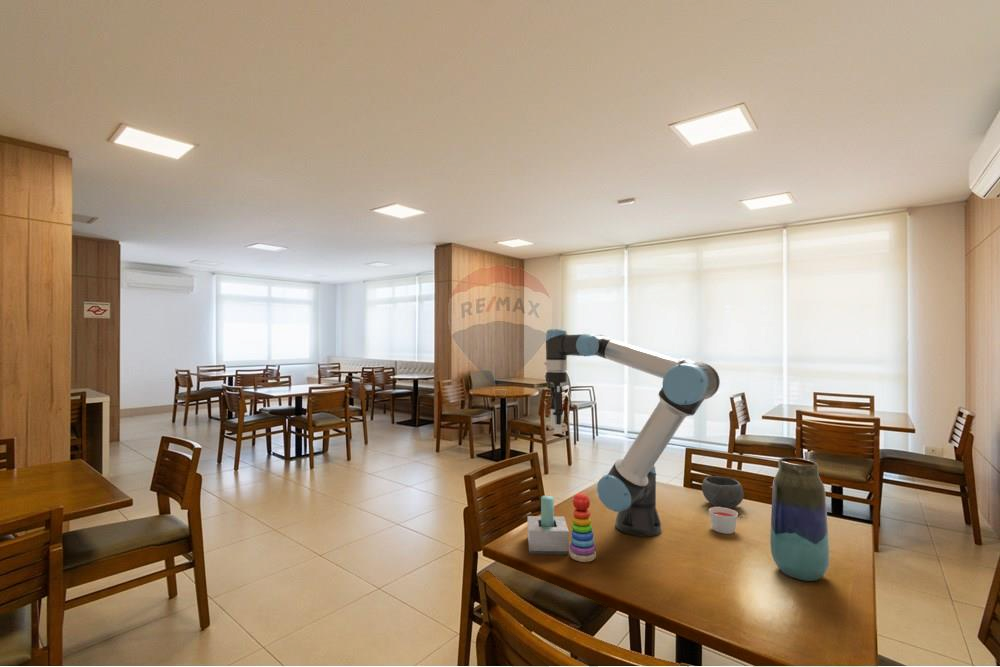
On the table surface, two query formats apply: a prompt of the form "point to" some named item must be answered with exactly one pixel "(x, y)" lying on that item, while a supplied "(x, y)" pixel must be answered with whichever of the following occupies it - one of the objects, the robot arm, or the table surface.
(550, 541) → the socket block
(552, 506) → the peg
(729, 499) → the bowl
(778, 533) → the vase
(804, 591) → the table surface
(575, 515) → the stacking toy
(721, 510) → the candle
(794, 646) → the table surface
